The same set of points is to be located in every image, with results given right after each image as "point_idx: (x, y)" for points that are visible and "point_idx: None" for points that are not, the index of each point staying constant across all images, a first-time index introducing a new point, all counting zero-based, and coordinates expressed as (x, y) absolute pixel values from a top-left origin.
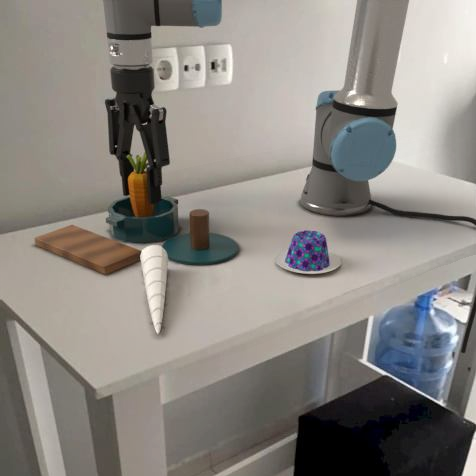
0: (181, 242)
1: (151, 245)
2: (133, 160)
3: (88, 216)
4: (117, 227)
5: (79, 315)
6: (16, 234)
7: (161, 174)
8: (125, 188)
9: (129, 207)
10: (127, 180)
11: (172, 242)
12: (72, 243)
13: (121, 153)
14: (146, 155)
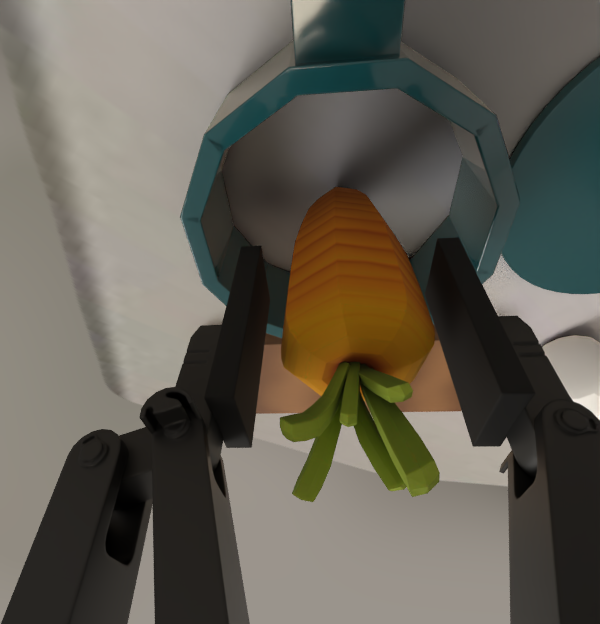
0: (562, 205)
1: (584, 402)
2: (332, 457)
3: (91, 244)
4: None
5: (506, 457)
6: (141, 394)
7: (552, 370)
8: (266, 323)
9: (210, 197)
10: (260, 338)
11: (526, 225)
12: (309, 393)
13: (227, 495)
14: (513, 540)
